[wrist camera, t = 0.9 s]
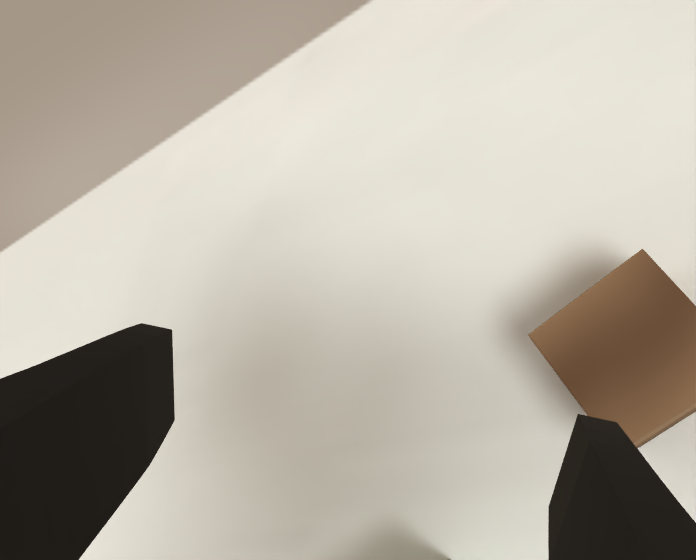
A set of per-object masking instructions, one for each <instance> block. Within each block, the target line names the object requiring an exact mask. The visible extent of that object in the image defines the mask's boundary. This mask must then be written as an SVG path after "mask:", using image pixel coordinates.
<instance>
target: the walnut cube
mask: <svg viewBox="0 0 696 560" xmlns="http://www.w3.org/2000/svg"><path fill="white" fill-rule="evenodd" d="M528 336H529V337H530V338H531V340H532V341H533V343H534V344H535V345H536V347H537V348H538V349H539V351H540V352H541V353H542V355H543V356H544V357H545V359H546V360H547V361H548V363H549V364H550V365H551V367H552V368H553V369H554V371H555V372H556V373H557V375H558V376H559V377H560V379H561V380H562V382H563V383H564V384H565V386H566V387H567V388H568V390H569V391H570V392H571V394H572V395H573V396H574V398H575V399H576V400H577V402H578V403H579V404H580V406H581V407H582V408H583V410H584V411H585V412H586V414H587V415H588V416H590V417H595V418H599V419H604V420H609V421H614V422H617V423H618V424H619V426H620V427H621V428H622V429H623V431H624V432H625V433H626V434H627V436H628V437H629V438H630V440H631V441H632V442H633V444H634V445H635V446H636V448H639V447H640V446H642V445H644V444H645V443H647V442H648V441H650V440H651V439H653V438H655V437H656V436H658V435H659V434H661V433H662V432H664V431H666V430H667V429H669V428H670V427H672V426H674V425H675V424H677V423H678V422H680V421H681V420H683V419H685V418H686V417H688V416H689V415H691V414H692V413H694V412H696V306H695V305H694V304H693V303H692V302H691V301H690V300H689V298H688V297H687V296H686V295H685V294H684V293H683V292H682V291H681V290H680V289H679V288H678V287H677V285H676V284H675V283H674V282H673V281H672V280H671V279H670V278H669V277H668V276H667V275H666V274H665V273H664V271H663V270H662V269H661V268H660V267H659V266H658V265H657V264H656V263H655V262H654V261H653V260H652V258H651V257H650V256H649V255H648V254H647V253H646V252H645V251H644V250H643V249H642V250H640V251H639V252H638V253H636V254H635V255H634V256H632V257H631V258H630V259H628V260H627V261H626V262H624V263H623V264H622V265H620V266H619V267H618V268H616V269H615V270H614V271H612V272H611V273H610V274H608V275H607V276H606V277H604V278H603V279H602V280H600V281H599V282H598V283H596V284H595V285H594V286H592V287H591V288H590V289H588V290H587V291H586V292H584V293H583V294H582V295H580V296H579V297H578V298H576V299H575V300H574V301H573V302H571V303H570V304H569V305H567V306H566V307H565V308H563V309H562V310H561V311H559V312H558V313H557V314H555V315H554V316H553V317H551V318H550V319H549V320H547V321H546V322H545V323H543V324H542V325H541V326H539V327H538V328H537V329H535V330H534V331H533V332H531V333H530V334H529V335H528Z"/></svg>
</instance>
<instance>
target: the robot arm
mask: <svg viewBox="0 0 696 560" xmlns="http://www.w3.org/2000/svg"><path fill="white" fill-rule="evenodd" d="M174 420H175V417H174V382H173V347H172V330H171V329H166V328H161V327H157V326H152V325H147V324H142V323H141V324H138V325H135V326H132V327H129V328H126V329H123V330H121V331H118V332H116V333H113V334H111V335H108V336H106V337H103V338H101V339H98V340H96V341H94V342H91V343H89V344H86V345H84V346H82V347H79V348H77V349H74V350H72V351H70V352H67V353H65V354H62V355H60V356H57V357H55V358H53V359H50V360H48V361H45V362H43V363H41V364H38V365H36V366H33V367H31V368H28V369H25V370H23V371H20V372H17V373H15V374H12V375H9V376H6V377H4V378H1V379H0V560H79V558H80V557H81V556H82V554H83V553H84V552H85V550H86V549H87V548H88V546H89V545H90V544H91V542H92V541H93V540H94V539H95V537H96V536H97V535H98V533H99V532H100V531H101V529H102V528H103V527H104V525H105V524H106V523H107V521H108V520H109V519H110V517H111V516H112V515H113V514H114V512H115V511H116V510H117V508H118V507H119V506H120V504H121V503H122V502H123V500H124V499H125V498H126V496H127V495H128V494H129V492H130V491H131V490H132V488H133V487H134V486H135V484H136V483H137V482H138V480H139V479H140V478H141V476H142V475H143V473H144V472H145V471H146V469H147V468H148V467H149V465H150V463H151V462H152V460H153V458H154V456H155V455H156V453H157V451H158V450H159V448H160V446H161V444H162V442H163V441H164V439H165V437H166V435H167V433H168V431H169V429H170V428H171V426H172V424H173V422H174ZM549 560H696V523H695V521H694V520H693V519H692V518H691V517H690V515H689V514H688V513H687V512H686V511H685V509H684V508H683V507H682V506H681V504H680V503H679V502H678V501H677V499H676V498H675V497H674V496H673V494H672V493H671V492H670V491H669V489H668V488H667V487H666V486H665V484H664V483H663V482H662V480H661V479H660V478H659V477H658V475H657V474H656V473H655V471H654V470H653V469H652V467H651V466H650V465H649V463H648V462H647V461H646V460H645V458H644V457H643V456H642V454H641V453H640V452H639V450H638V449H637V448H636V446H635V445H634V444H633V442H632V441H631V440H630V438H629V437H628V436H627V434H626V433H625V432H624V431H623V429H622V428H621V427H620V426H619V424H618V423H617V422H614V421H609V420H604V419H599V418H595V417H590V416H585V415H580V414H578V416H577V419H576V422H575V425H574V428H573V432H572V435H571V438H570V441H569V444H568V447H567V451H566V454H565V457H564V460H563V463H562V466H561V470H560V473H559V476H558V479H557V482H556V485H555V489H554V492H553V495H552V498H551V501H550V504H549Z"/></svg>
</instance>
